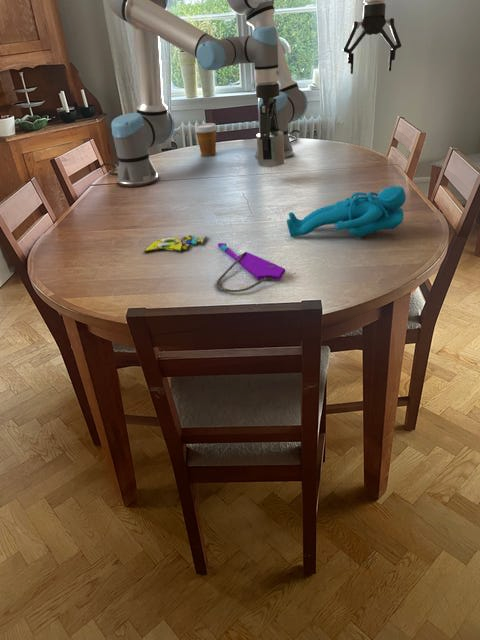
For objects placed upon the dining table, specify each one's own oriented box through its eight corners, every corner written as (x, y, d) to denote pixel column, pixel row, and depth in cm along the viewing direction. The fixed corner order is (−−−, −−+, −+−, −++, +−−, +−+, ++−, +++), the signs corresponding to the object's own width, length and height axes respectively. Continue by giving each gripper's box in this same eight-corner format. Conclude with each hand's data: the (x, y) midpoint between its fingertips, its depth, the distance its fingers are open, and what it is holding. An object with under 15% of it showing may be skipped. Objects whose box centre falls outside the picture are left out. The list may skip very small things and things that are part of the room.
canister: (289, 161, 167) (288, 131, 162) (274, 168, 161) (273, 137, 156) (268, 158, 172) (266, 130, 167) (253, 165, 166) (251, 136, 161)
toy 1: (199, 248, 125) (143, 249, 127) (199, 251, 125) (144, 252, 127) (206, 233, 133) (154, 234, 135) (206, 236, 133) (154, 237, 136)
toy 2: (290, 200, 134) (401, 173, 124) (299, 235, 139) (407, 211, 129) (281, 224, 121) (406, 195, 110) (292, 261, 126) (412, 237, 116)
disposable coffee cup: (194, 156, 208) (190, 127, 202) (203, 151, 216) (200, 122, 209) (213, 157, 205) (210, 127, 199) (222, 151, 212) (220, 122, 206)
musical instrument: (259, 304, 102) (301, 255, 114) (257, 296, 101) (299, 248, 113) (174, 288, 115) (219, 245, 127) (171, 280, 114) (217, 238, 126)
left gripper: (271, 88, 143) (274, 164, 155) (285, 77, 161) (287, 147, 173) (247, 89, 145) (252, 164, 157) (263, 79, 163) (267, 147, 175)
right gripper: (338, 6, 164) (336, 75, 175) (414, -1, 161) (407, 70, 172) (336, 6, 170) (335, 73, 181) (409, -1, 167) (403, 68, 178)
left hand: (270, 155), depth 165 cm, fingers closed on canister, 9 cm apart
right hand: (370, 72), depth 177 cm, fingers open, 13 cm apart
